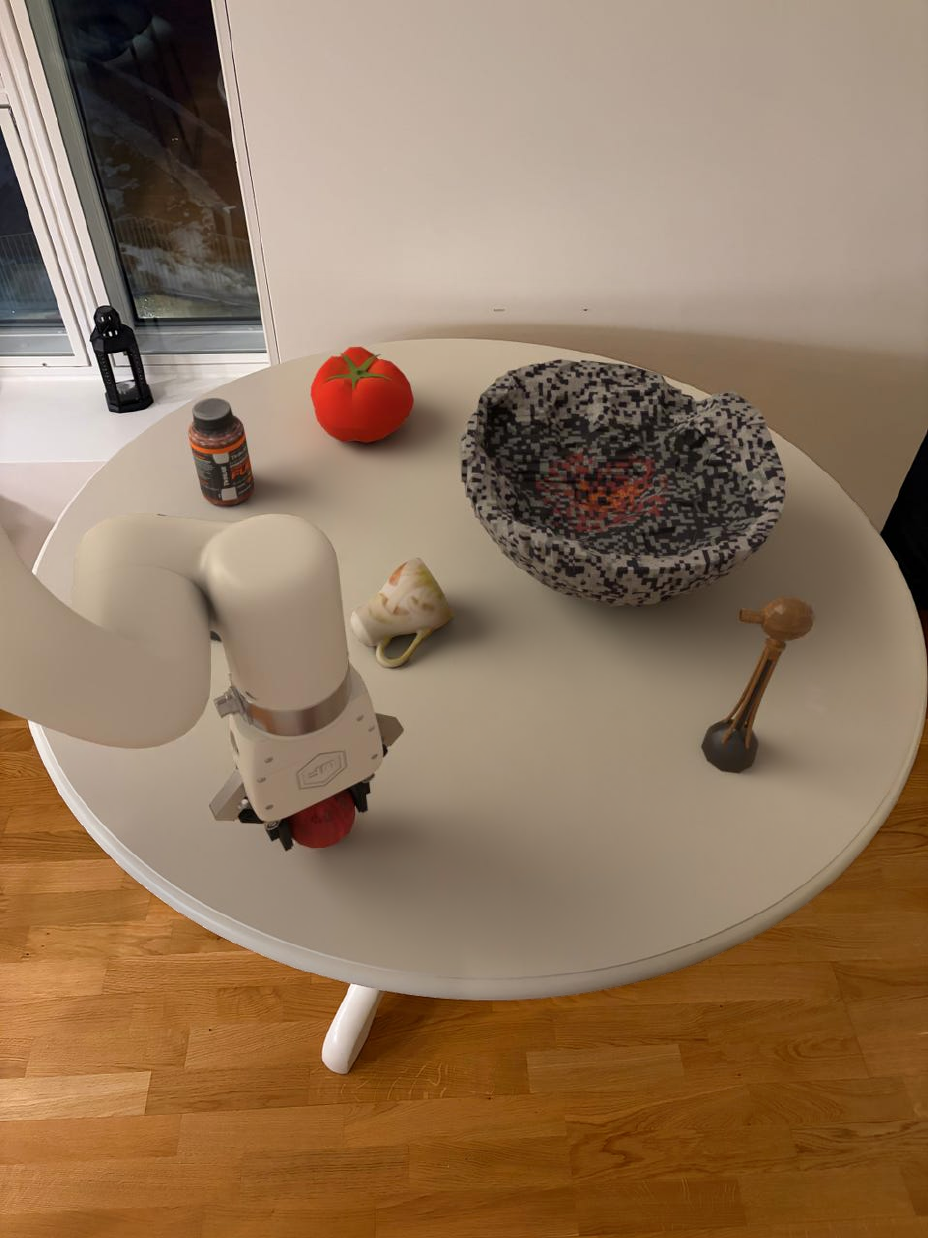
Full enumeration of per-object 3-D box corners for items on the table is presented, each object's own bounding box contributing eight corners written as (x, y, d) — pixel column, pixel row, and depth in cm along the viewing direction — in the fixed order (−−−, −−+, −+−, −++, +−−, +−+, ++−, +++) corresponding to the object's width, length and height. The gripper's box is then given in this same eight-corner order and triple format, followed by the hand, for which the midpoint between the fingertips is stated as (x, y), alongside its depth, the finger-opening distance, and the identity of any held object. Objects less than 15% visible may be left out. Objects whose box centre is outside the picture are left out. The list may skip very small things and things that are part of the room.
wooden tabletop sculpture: (690, 767, 80) (749, 619, 65) (688, 724, 83) (744, 573, 68) (757, 775, 80) (832, 628, 65) (753, 732, 83) (824, 582, 68)
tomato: (410, 459, 107) (408, 399, 101) (306, 454, 108) (298, 394, 101) (418, 397, 116) (417, 338, 109) (321, 392, 116) (315, 333, 110)
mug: (333, 627, 90) (362, 538, 86) (417, 636, 95) (449, 552, 91) (356, 668, 84) (390, 574, 80) (445, 675, 89) (480, 588, 86)
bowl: (460, 668, 87) (464, 558, 75) (457, 461, 107) (459, 350, 96) (782, 669, 88) (833, 560, 76) (717, 464, 108) (750, 354, 97)
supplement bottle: (246, 511, 101) (228, 428, 92) (194, 504, 101) (173, 421, 93) (262, 477, 105) (247, 394, 96) (212, 471, 105) (193, 388, 97)
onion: (367, 812, 76) (362, 761, 70) (343, 873, 73) (335, 825, 67) (303, 795, 77) (292, 743, 71) (276, 854, 73) (262, 805, 67)
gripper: (186, 781, 54) (236, 907, 68) (435, 668, 60) (435, 804, 74) (146, 694, 58) (201, 829, 72) (383, 597, 64) (391, 738, 78)
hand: (319, 815), depth 73 cm, fingers closed on onion, 5 cm apart
